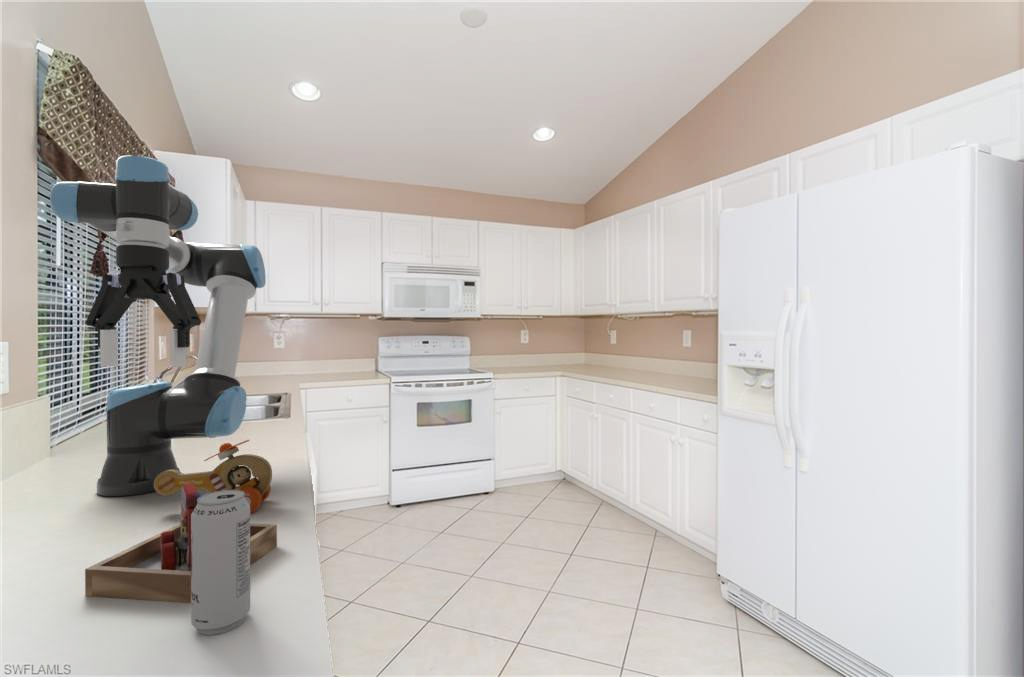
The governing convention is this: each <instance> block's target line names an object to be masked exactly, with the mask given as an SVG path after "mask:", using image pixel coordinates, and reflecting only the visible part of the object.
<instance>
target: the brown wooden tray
mask: <svg viewBox="0 0 1024 677" xmlns="http://www.w3.org/2000/svg"><path fill="white" fill-rule="evenodd" d="M277 525H278V524H274V523H273V524H267V523H251V522H250V566H252V565H253V564H254V563H256V562H257V561H258V560H260V559H262V557H264V556H266V555H267V554H268V553H269V551H270V552H271V551H272V550H273V548H274V549H276V548H277V547H276V546H278V535H277V534H278V526H277ZM180 529H181V523H180V522H179V523H178V524H176V525H174V526H173V527H170V528H168V529H166V530H164V531H162V532H159V533H157V534H156V535H154V536H151V537H149V538H147V539H145V540H143V541H141V542H139V543H136V544H135V545H132V546H131V547H129V548H126V549H124V550H122V551H120V552H118V553H116V554H114V555H112V556H110V557H108V558H106V559H103V560H102V561H99V562H97V563H95V564H93V565H91V566H88V567H87V568H84V571H85V572H84V582H85V584H84V588H85V589H84V595H85V597H97V598H99V597H101V598H113V599H129V600H141V601H142V600H143V601H155V602H156V601H157V602H159V601H160V602H173V603H187V604H191V567H188V565H187V563H186V562H185V561H184V564H183V565H181V566H176V570H161V553H160V536H161V533H163V532H167V531H173V532H174V542H175V541H178V539H179V538H180V535H181V530H180Z"/></svg>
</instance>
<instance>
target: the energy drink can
mask: <svg viewBox="0 0 1024 677" xmlns="http://www.w3.org/2000/svg"><path fill="white" fill-rule="evenodd" d="M197 503H198V504H197V506H196V507H195V509H194V511H193V512H192V514H191V603H190V604H191V605H190V608H191V609H190V617H191V620H190V623H191V626H192V627H193V628H195V629H196V631H197V633H199V634H201V635H204V636H212V635H213V636H214V635H219V634H224V633H227V632H229V631H232V630H233V629H235V628H237V627H238V626H240V625H241V624H242V623H243V622H244V621H245V619H246V615H247V614H248V613H249V612H250V610H251V565H250V523H251V513H250V505H249V503H248V502H247V500H246V499H245V497H244V492H243V491H240V490H224V491H217V492H212V493H209V492H208V493H205V494H203V495H201V497H199V498H198V499H197Z"/></svg>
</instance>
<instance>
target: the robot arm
mask: <svg viewBox="0 0 1024 677" xmlns="http://www.w3.org/2000/svg"><path fill="white" fill-rule="evenodd" d="M115 166H116V167H115V175H114V180H115V184H114V183H102V182H101V183H100V182H88V181H81V180H77V181H60V182H57V183H55V184H54V185H53V186H52V187H51V190H50V196H49V200H50V201H49V202H50V205H51V209H52V210H53V212H54V214H55V215H56V216H57V218H59V219H60V220H62V221H64V222H69V223H76V224H83V223H84V224H89V225H90V226H92V227H94V228H96V229H97V230H99V231H100V232H102V233H103V234H105V235H107V236H108V237H110V238H112V239H113V240H114V241H116V243H118V244H119V245H118V246H116V247H115V265H116V266H117V267H118V268H119V269H120V272H119V274H113V273H112V274H110V273H104V274H103V275H102V279H101V287H100V289H99V291H98V293H97V296H96V298H95V300H94V303H93V304H92V307H91V310H90V311H89V313H88V316H87V319H86V320H85V324H86V326H89V327H93V328H95V329H96V331H97V346H98V348H99V350H100V351H99V353H100V354H99V355H100V356H99V366H100V367H101V368H103V367H105V368H106V367H118V366H119V330H118V329H117V327H116V325H117V324H118V322H119V321H121V319H122V317H123V316H124V315H125V313H126V312H127V311H128V309H129V308H130V307H131V306H132V304H133V303H135V302H137V301H139V300H141V301H142V300H152V301H154V302H155V303H156V305H157V306H158V307H159V309H160V310H161V311H162V312H163V313H164V315H165V316H166V317H167V319H168V320H169V322H170V323H171V324H172V325H173V326H172V329H170V337H169V339H170V340H169V341H170V343H169V344H170V346H169V347H170V348H169V349H170V351H169V352H170V367H171V368H178V367H179V368H181V367H187V364H188V362H187V359H188V358H187V354H188V350H187V348H190V344H191V343H190V341H191V339H190V338H191V336H190V335H191V332H190V331H191V329H192V328H193V327H196V326H197V327H198V326H201V323H202V320H201V318H200V316H199V314H198V311H197V309H196V307H195V305H194V303H193V301H192V299H191V296H190V295H189V293H188V289H187V288H186V284H187V285H191V286H196V287H204V288H207V290H208V291H209V293H210V297H209V302H208V305H207V306H208V307H207V311H206V315H205V320H204V325H203V330H202V334H201V339H200V344H199V346H198V347H199V348H198V352H197V353H198V354H197V357H196V361H195V365H194V366H195V367H194V370H193V372H191V373H190V374H188V375H187V376H185V378H184V382H183V386H182V387H173V385H172V383H171V382H170V381H162V382H155V383H154V382H153V383H147V384H141V385H140V384H139V385H133V386H126V387H122V388H121V387H120V388H116V389H113V390H111V391H110V392H109V393H108V395H107V399H106V409H105V412H106V458H105V461H104V464H103V467H102V470H101V474H100V477H98V479H97V481H96V494H97V495H99V496H102V497H103V496H104V497H124V496H134V495H142V494H146V493H152V492H153V493H154V492H156V491H155V489H154V480H155V478H156V477H157V476H158V475H159V474H160V473H162V472H164V471H167V470H178V471H180V472H181V469H180V468H179V467H178V463H177V461H176V458H175V456H174V453H173V450H172V440H175V439H176V440H177V439H178V440H179V439H201V438H203V439H204V438H205V439H206V438H209V439H214V438H215V439H216V438H218V437H228V436H232V435H233V434H235V433H236V431H237V430H239V428H240V426H241V425H242V423H243V420H244V418H245V414H246V410H247V399H248V398H247V392H246V390H245V389H244V387H242V386H241V382H240V380H239V379H238V378H237V377H236V371H237V366H238V365H237V364H238V359H239V353H240V348H241V347H240V346H241V341H242V335H243V330H244V325H245V319H246V313H247V306H248V301H249V300H250V299H252V298H253V297H255V295H256V293H257V292H256V291H257V288H258V289H262V288H264V287H265V286H266V268H265V263H264V259H263V255H262V253H261V251H260V249H259V247H257V246H254V245H251V244H250V245H248V244H243V243H240V244H224V243H203V242H202V243H198V242H186V241H183V240H181V239H180V238H178V237H174V236H170V230H174V231H179V232H180V231H186V230H188V229H190V228H192V227H193V226H194V225H195V224H196V222H197V221H198V217H199V211H198V207H197V205H196V204H195V202H194V201H193V199H191V198H190V197H189V196H188V195H187V194H186V193H184V192H182V191H180V190H179V189H177V188H176V187H174V186H173V185H171V184H170V181H171V177H170V173H169V167H168V165H166V163H164V162H162V161H161V160H158V159H156V158H152V157H148V156H142V155H136V154H135V155H133V154H129V155H121V156H120V157H118V158H117V160H116V164H115ZM166 287H167V288H168V289H166Z"/></svg>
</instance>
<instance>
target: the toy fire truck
mask: <svg viewBox="0 0 1024 677" xmlns="http://www.w3.org/2000/svg"><path fill="white" fill-rule="evenodd" d="M180 495H181V498H180V499H181V511H180V514H179V524H180V523H181V529H180V530H181V535H180V538H179V539H178V541H175V542H174V532H173V531H167V532H164V531H162V532H163V533H162V532H160V533H161V536H160V553H161V570H176V566H181V565H183V564H184V561H185V562H186V563H187V565H188V567H191V514H192V512H193V511H194V509H195V507H196V506H197V504H198V503H197V499H198V498H199V497H201V496H202V495H201V494H199V490H197V489H196V487H195V484H194V483H187V484H183V485H182V490H181V494H180Z"/></svg>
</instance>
